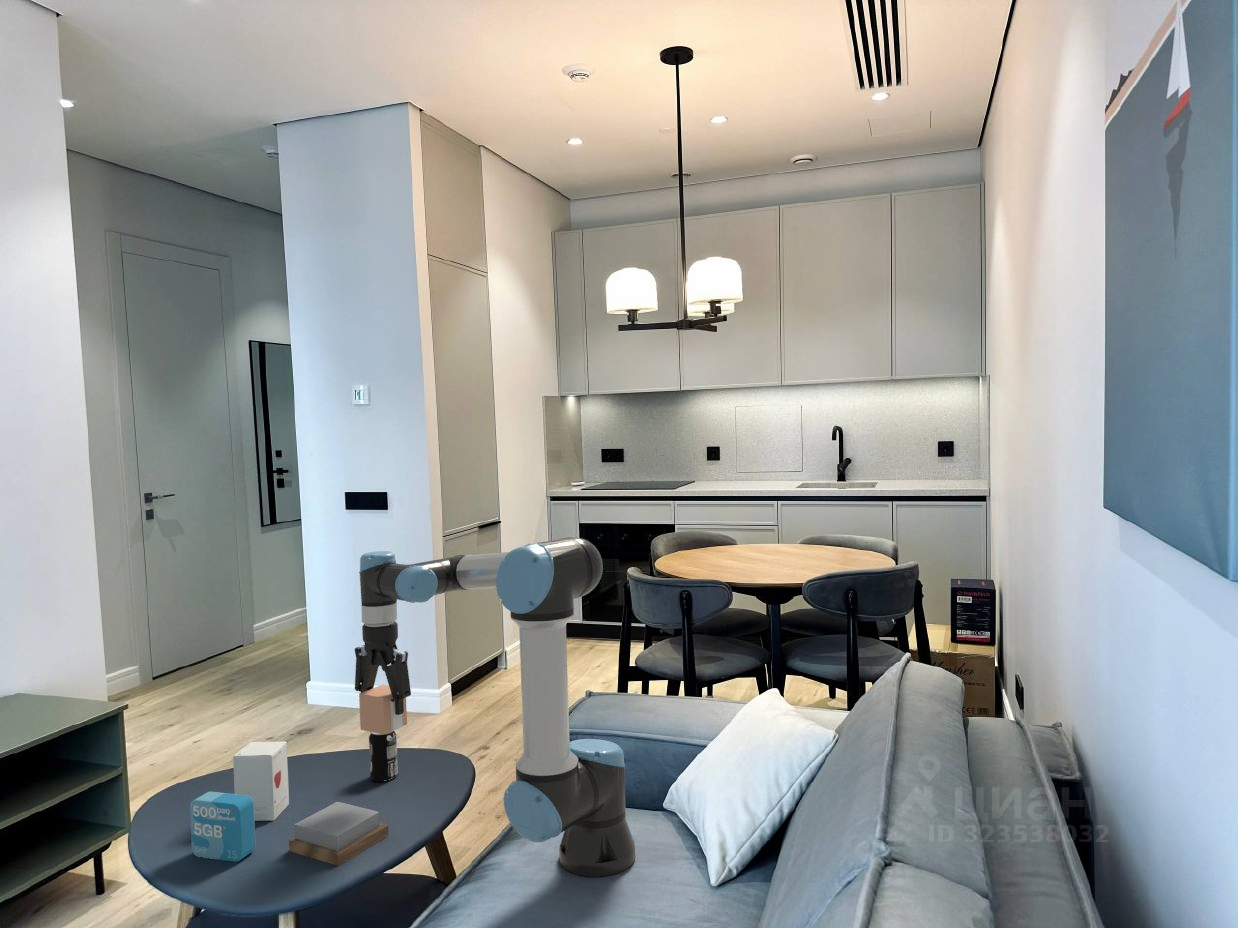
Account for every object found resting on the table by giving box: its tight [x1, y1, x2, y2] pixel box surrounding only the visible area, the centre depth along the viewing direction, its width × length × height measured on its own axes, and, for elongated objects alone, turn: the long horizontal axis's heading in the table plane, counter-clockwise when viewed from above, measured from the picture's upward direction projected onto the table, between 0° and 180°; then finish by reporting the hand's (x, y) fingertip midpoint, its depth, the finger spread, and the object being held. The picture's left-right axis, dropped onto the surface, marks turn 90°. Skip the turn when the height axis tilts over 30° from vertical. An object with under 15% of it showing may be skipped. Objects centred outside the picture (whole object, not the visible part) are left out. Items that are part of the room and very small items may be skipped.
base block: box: [288, 822, 390, 867], centre depth 183 cm, size 14×14×3 cm
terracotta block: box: [358, 684, 408, 734], centre depth 192 cm, size 7×7×8 cm
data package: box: [189, 791, 256, 863], centre depth 179 cm, size 12×4×12 cm, turn 75°
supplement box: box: [232, 741, 290, 822], centre depth 199 cm, size 9×9×15 cm
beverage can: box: [368, 730, 399, 782], centre depth 217 cm, size 7×7×12 cm
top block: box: [293, 801, 381, 851], centre depth 183 cm, size 12×12×3 cm
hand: (383, 725), depth 193 cm, fingers closed on terracotta block, 7 cm apart
